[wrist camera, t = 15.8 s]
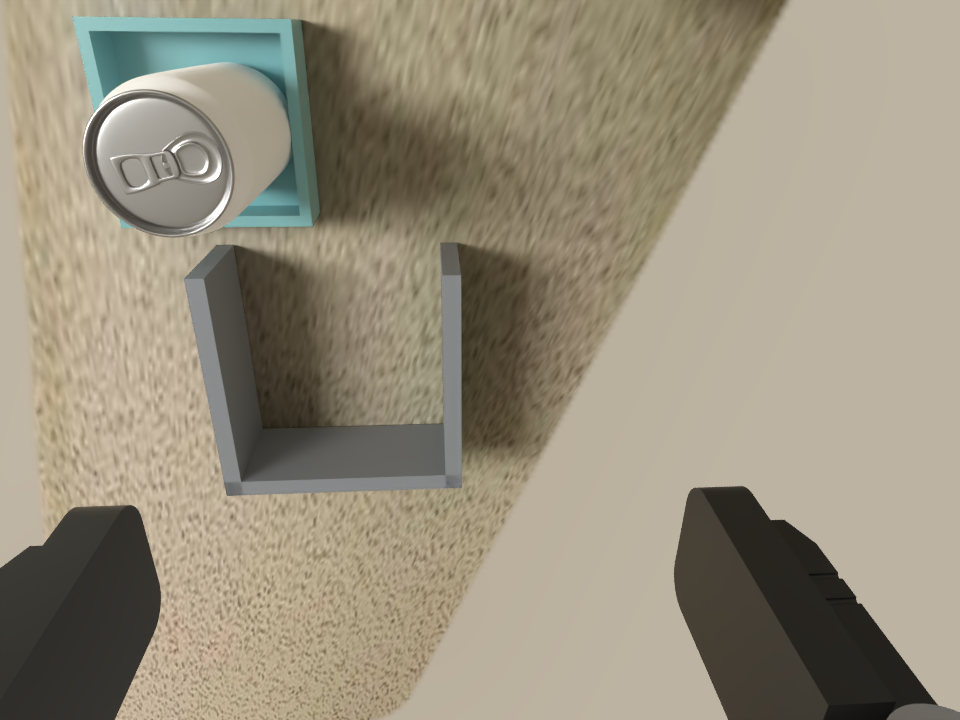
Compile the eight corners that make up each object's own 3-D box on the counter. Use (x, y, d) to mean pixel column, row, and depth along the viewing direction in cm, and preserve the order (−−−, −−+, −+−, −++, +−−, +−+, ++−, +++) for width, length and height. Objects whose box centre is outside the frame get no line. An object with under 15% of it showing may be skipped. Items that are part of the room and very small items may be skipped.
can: (313, 171, 38) (269, 229, 27) (204, 196, 38) (116, 263, 27) (275, 48, 35) (207, 58, 24) (156, 76, 35) (37, 98, 24)
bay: (216, 245, 40) (183, 278, 35) (456, 242, 41) (461, 275, 36) (250, 441, 46) (226, 495, 41) (457, 435, 47) (461, 487, 42)
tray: (99, 17, 34) (72, 16, 32) (301, 19, 35) (290, 19, 32) (142, 214, 39) (121, 228, 36) (320, 212, 40) (312, 226, 37)
